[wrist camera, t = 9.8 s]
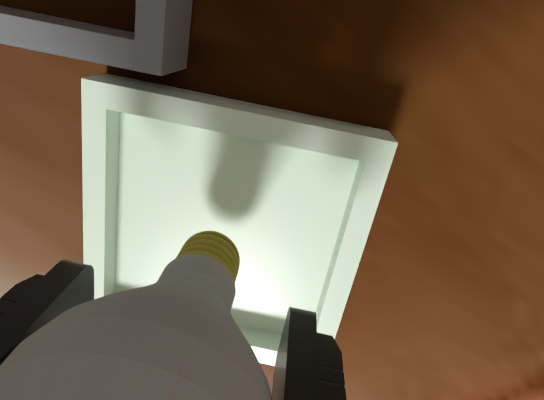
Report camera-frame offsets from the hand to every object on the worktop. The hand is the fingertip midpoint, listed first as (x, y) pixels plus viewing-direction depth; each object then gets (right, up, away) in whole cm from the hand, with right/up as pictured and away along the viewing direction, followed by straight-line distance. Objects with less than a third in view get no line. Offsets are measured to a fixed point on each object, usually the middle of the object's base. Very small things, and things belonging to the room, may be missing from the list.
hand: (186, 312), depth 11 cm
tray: (+1, +2, +5) cm, 5 cm away
